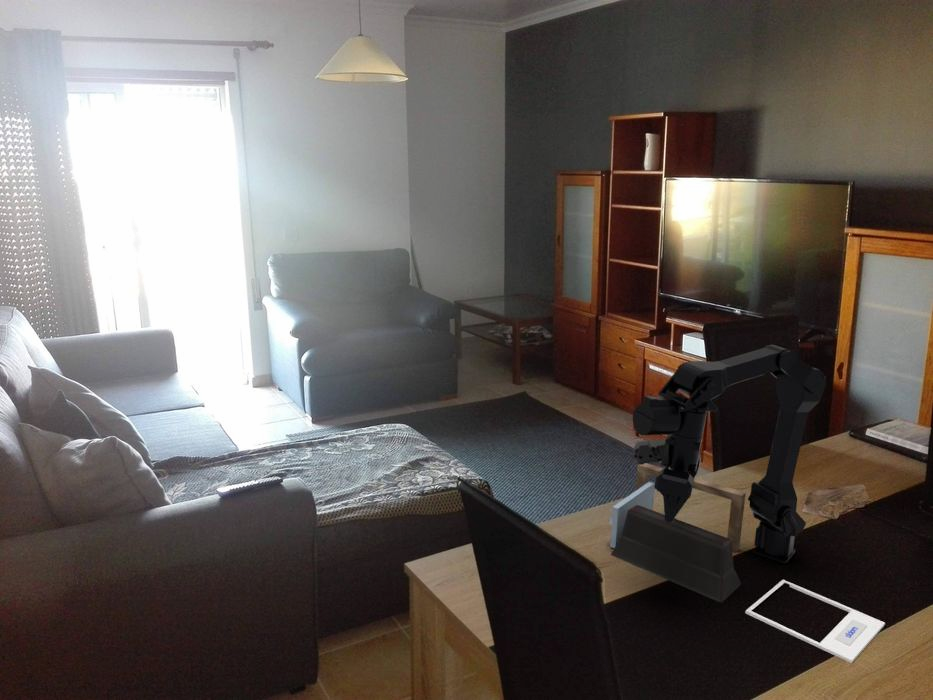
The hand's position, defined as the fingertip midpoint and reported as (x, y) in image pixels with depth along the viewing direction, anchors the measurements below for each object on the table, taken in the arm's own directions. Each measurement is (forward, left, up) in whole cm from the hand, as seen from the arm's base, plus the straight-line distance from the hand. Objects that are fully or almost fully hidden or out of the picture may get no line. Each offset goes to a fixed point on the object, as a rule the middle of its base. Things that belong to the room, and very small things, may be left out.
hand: (671, 512), depth 139 cm
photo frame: (-25, -6, -15) cm, 30 cm away
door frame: (+5, -20, -14) cm, 25 cm away
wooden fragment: (-15, -58, -15) cm, 62 cm away
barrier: (0, -5, -15) cm, 15 cm away
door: (+14, -12, -14) cm, 23 cm away
